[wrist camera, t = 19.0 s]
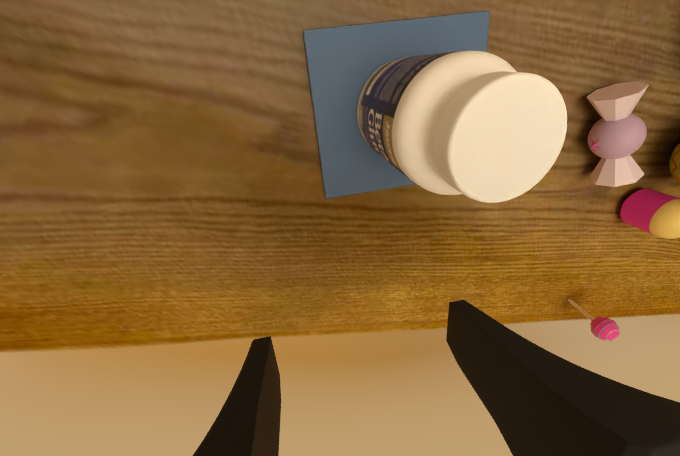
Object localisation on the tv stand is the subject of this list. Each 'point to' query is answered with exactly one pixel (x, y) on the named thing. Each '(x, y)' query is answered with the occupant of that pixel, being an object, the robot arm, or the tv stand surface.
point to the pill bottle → (463, 123)
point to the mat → (350, 78)
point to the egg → (675, 163)
